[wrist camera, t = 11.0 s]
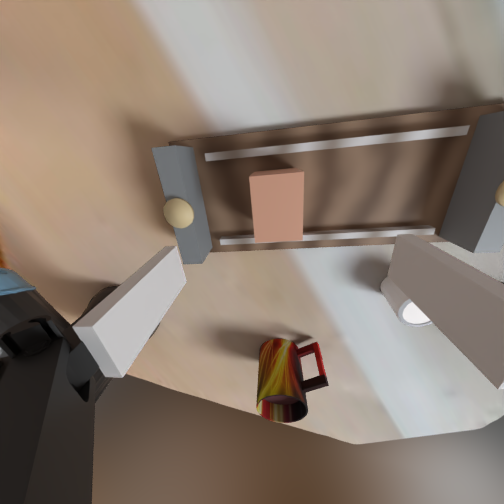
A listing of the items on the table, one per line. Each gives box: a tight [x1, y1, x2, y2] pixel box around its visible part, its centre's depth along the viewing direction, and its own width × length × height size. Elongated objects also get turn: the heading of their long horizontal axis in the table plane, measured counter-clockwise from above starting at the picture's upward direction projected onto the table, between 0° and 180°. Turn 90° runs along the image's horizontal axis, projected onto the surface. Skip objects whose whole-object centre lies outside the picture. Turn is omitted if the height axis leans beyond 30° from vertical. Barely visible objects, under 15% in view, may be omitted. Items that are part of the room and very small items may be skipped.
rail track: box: [169, 103, 504, 252], centre depth 30 cm, size 44×18×2 cm, turn 95°
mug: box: [256, 339, 329, 423], centre depth 41 cm, size 10×14×12 cm
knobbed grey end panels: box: [152, 111, 504, 264], centre depth 27 cm, size 44×16×7 cm, turn 95°
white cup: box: [380, 277, 433, 327], centre depth 34 cm, size 7×7×7 cm
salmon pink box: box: [249, 168, 304, 243], centre depth 27 cm, size 6×8×8 cm
